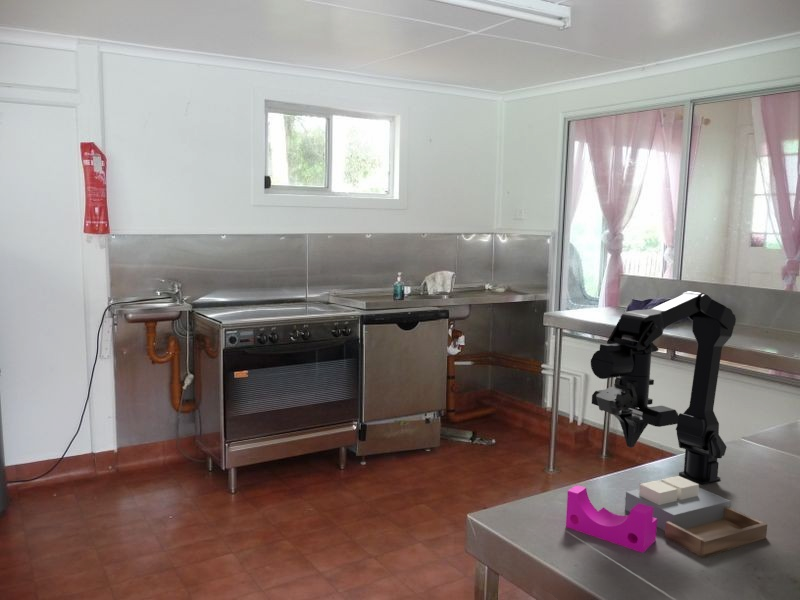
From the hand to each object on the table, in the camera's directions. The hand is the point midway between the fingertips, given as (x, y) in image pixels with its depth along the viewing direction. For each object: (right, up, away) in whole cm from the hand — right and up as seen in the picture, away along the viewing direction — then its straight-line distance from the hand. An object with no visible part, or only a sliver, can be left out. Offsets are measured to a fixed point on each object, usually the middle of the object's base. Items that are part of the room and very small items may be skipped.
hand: (630, 446), depth 142 cm
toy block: (-8, -14, -13) cm, 21 cm away
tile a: (+3, -9, -6) cm, 11 cm away
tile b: (+9, -9, -3) cm, 13 cm away
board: (+8, -13, -5) cm, 16 cm away
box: (+11, -14, -14) cm, 23 cm away
